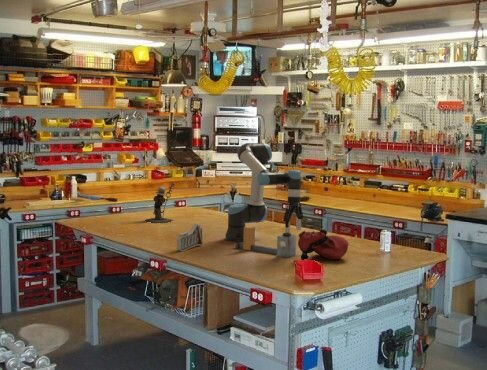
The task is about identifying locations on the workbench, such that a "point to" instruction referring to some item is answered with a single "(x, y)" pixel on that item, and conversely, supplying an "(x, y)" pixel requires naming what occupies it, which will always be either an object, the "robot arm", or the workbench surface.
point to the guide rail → (257, 248)
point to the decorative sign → (190, 238)
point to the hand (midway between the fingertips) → (293, 231)
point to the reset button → (286, 234)
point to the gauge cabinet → (286, 246)
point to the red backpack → (322, 244)
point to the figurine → (159, 202)
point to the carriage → (249, 237)
